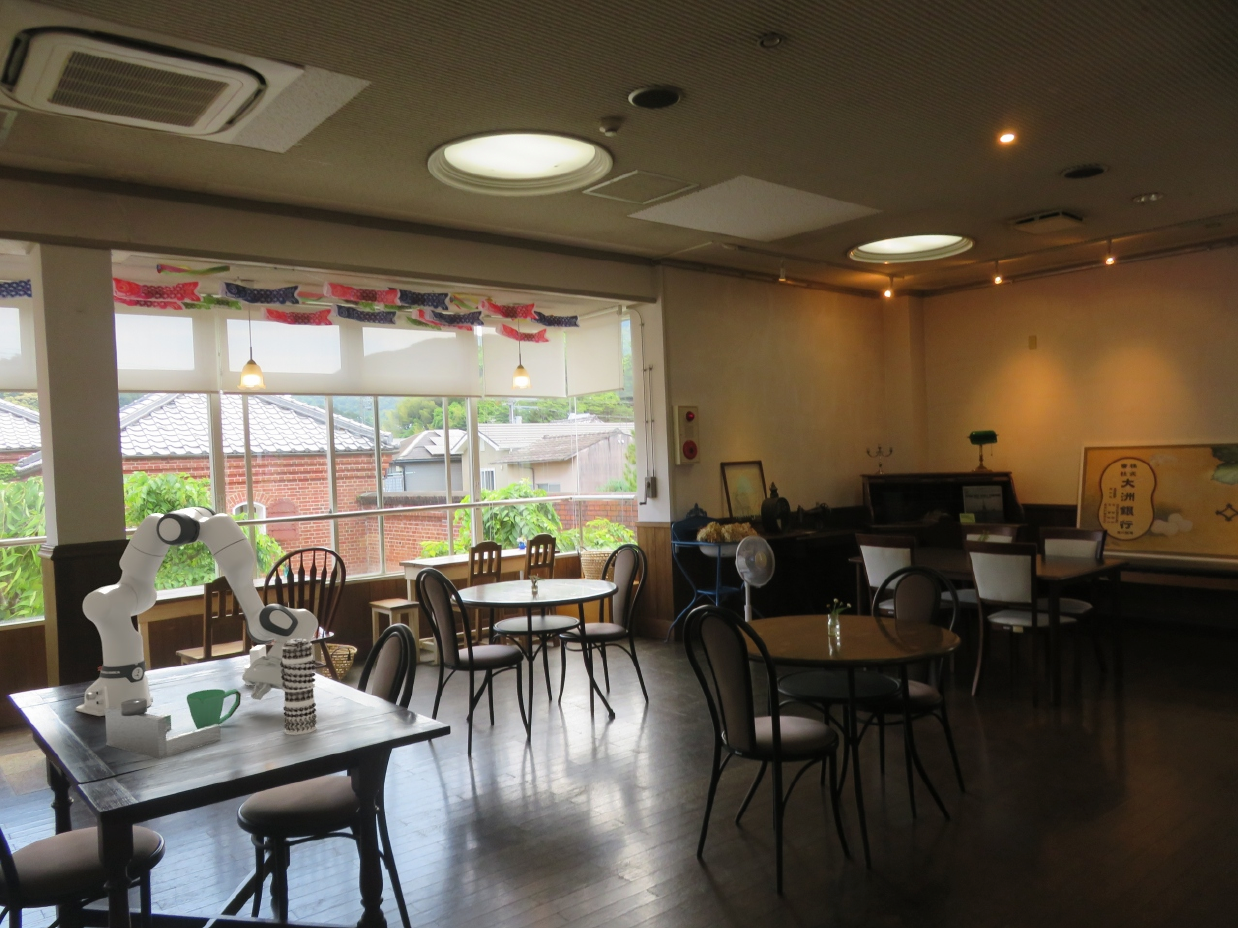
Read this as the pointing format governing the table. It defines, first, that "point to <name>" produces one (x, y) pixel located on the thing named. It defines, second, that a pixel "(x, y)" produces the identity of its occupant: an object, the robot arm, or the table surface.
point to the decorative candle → (298, 687)
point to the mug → (210, 706)
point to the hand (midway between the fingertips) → (255, 698)
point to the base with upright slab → (256, 655)
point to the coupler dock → (150, 731)
